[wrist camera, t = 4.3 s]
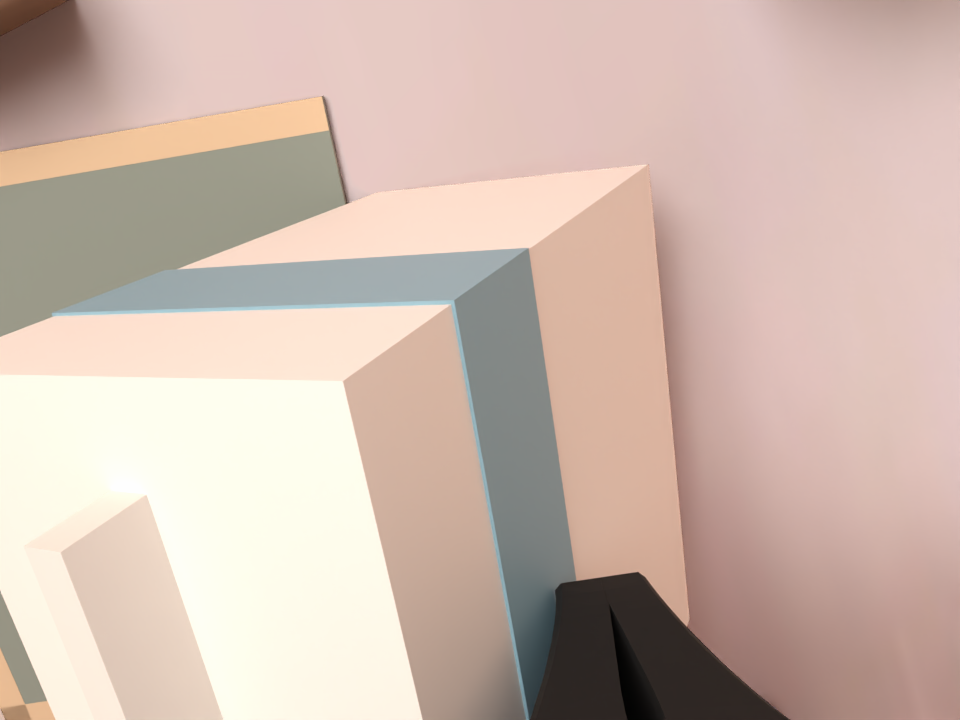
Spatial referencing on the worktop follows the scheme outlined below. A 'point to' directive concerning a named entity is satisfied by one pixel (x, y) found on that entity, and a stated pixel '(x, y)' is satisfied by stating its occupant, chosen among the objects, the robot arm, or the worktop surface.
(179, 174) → the display mat
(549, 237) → the milk carton
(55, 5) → the walnut block
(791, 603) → the worktop surface
